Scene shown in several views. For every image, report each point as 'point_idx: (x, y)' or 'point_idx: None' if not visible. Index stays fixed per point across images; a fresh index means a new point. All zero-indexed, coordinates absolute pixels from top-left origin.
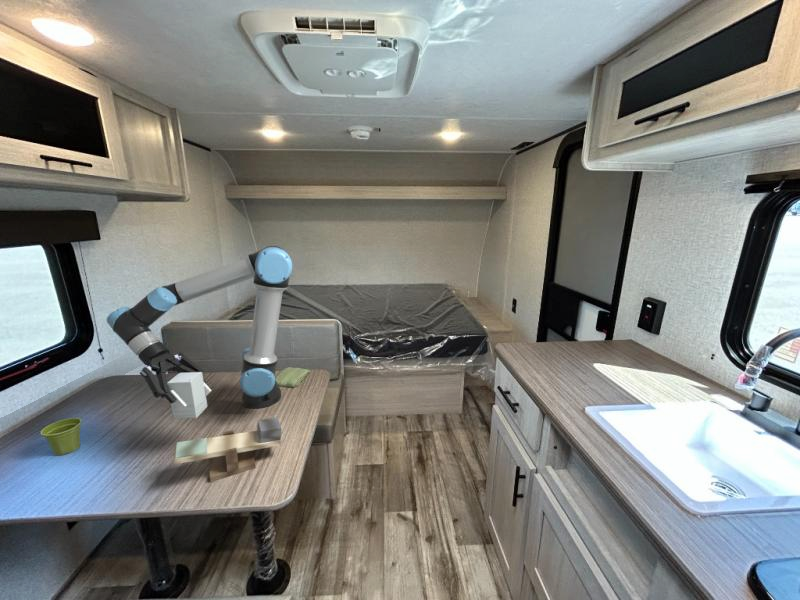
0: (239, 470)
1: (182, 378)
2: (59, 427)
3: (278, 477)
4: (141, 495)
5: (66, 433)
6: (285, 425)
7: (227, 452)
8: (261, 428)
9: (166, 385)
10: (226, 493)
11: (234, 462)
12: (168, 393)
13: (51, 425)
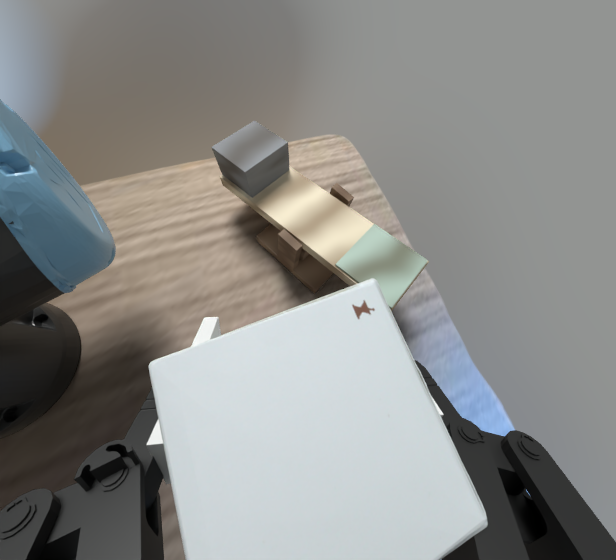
0: None
1: (361, 430)
2: None
3: (311, 159)
4: (427, 334)
5: None
6: (162, 216)
7: (350, 194)
8: (276, 147)
9: (481, 492)
10: (365, 208)
11: None
12: (447, 417)
13: None
